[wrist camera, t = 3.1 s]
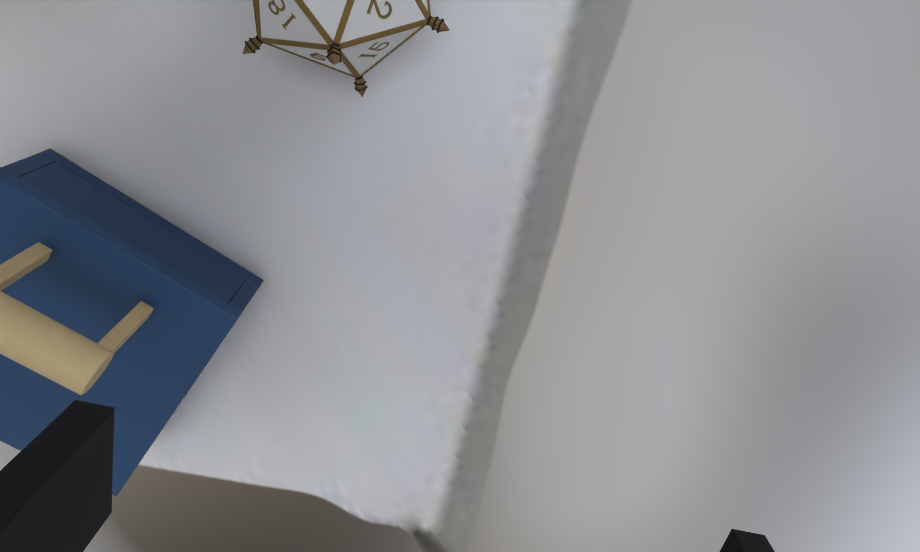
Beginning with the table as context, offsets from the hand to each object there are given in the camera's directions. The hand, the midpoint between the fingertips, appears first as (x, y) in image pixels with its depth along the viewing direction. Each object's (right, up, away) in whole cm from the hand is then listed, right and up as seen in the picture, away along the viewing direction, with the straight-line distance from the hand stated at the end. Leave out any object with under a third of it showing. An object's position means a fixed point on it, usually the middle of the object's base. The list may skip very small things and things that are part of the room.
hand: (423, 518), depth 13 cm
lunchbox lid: (-19, +2, +18) cm, 26 cm away
